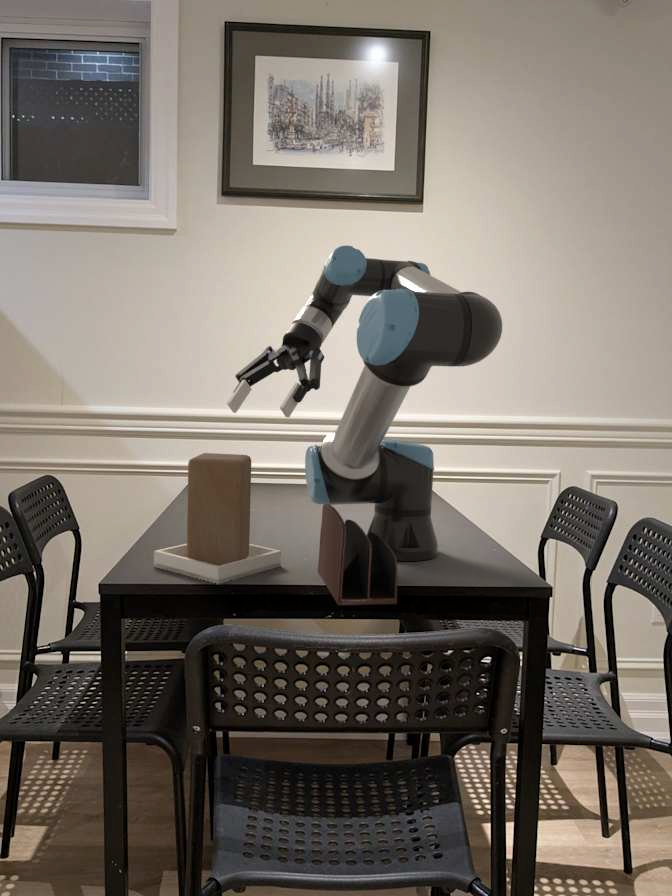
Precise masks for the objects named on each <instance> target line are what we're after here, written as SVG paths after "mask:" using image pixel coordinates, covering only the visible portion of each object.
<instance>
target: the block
mask: <svg viewBox="0 0 672 896" xmlns="http://www.w3.org/2000/svg"><path fill="white" fill-rule="evenodd" d="M187 463H188V464H187V466H188V467H187V511H186V512H187V518H186V519H187V520H186V521H187V522H186V523H187V524H186V526H187V527H186V528H187V529H186V530H187V531H186V544H187V558H190V559H194V560H198V561H201V562H205V563H209V564H213V565H217V566H220V565H223V564H227V563H231V562H235V561H239V560H242V559H246V558H247V557H248V555H249V544H250V532H251V531H250V530H251V528H250V527H251V525H250V523H251V492H252V491H251V490H252V488H251V487H252V485H251V484H252V458H251V456H250V455H247V454H236V453H235V454H233V453H214V452H212V453H211V452H210V453H209V452H202V453H200V454H199V455H197V456H194V457H192V458H190V459H189V461H188V462H187Z"/></svg>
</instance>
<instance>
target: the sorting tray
mask: <svg viewBox="0 0 672 896" xmlns="http://www.w3.org/2000/svg"><path fill="white" fill-rule="evenodd" d="M281 561H282V551H281V550H279V549H274V548H271V547H265V546H261V545H256V544H253V543H249V555H248V557H247V558H246V559H242V560H239V561H235V562H231V563H227V564H223V565H220V566H217V565H213V564H209V563H205V562H201V561H198V560H194V559H190V558H187V543H183V544H179V545H175V546H169V547H166V548H162V549H157V550H153V567H154V568H157V569H161V570H164V571H167V570H168V572H172V573H175V574H178V573H180V574H179V575H182V574H183V575H182V576H185V575H186V577H189V576H190V578H193V577H194V578H193V579H196V578H198V579H197V580H200V579H201V580H200V581H203V580H205V581H204V582H207V581H209V582H208V583H211V582H212V583H211V584H214V583H216V584H215V585H221V584H224V583H223V582H225V583H228V582H231V581H230V580H232V581H236V580H238V578H239V579H241V578H242V579H243V578H246V577H248V576H252V575H256V574H259V573H263V572H267V571H269V570H273V569H277V568H280V567H281V563H282V562H281ZM245 576H246V577H245ZM227 581H228V582H227ZM220 583H221V584H220Z"/></svg>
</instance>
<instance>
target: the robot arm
mask: <svg viewBox="0 0 672 896" xmlns="http://www.w3.org/2000/svg"><path fill="white" fill-rule="evenodd" d="M353 296H358V297H359V296H361V297H369V298H368V299H367V300H366V302H365V304H364V306H363V307H362V310H361V313H360V315H359V318H358V323H359V325H358V327H357V330H356V346H357V347H356V348H357V351H358V354H359V356H360V358H361V360H362V361H363V362H362V363H363V364H364V365H363V368H362V371H361V373H360V375H359V377H358V380H357V381H356V382H357V383H356V384H355V386H354V388H353V390H352V393H351V396H350V398H349V401H348V403H347V405H346V407H345V410H344V412H343V414H342V417H341V418H340V421H339V424H338V426H337V428H336V430H333V431H332V432H330V433H329V434H327V435H326V437H324V439H323V442H322V444H321V445H317V444H314V445H310V446H308V447H307V449H306V451H305V456H304V457H305V458H304V459H305V460H304V468H305V469H304V470H305V472H304V473H305V481H306V487H307V493H308V496H309V499H311V501H312V502H313V503H314V504H316V505H324V504H328V505H331V506H333V505H334V506H335V505H361V504H363V505H366V504H374V513H373V517H372V519H371V522H370V525H369V528H368V531H367V533H366V535H367V537H368V533H369V532H373V533H375V534H377V535H378V536H380V537H381V538H382V539H383V540H384V541H385V542H386V543H387V545H388V546H389V547H390V548H391V550H392V551H393V553H394V554H395V557H396V559H397V562H398V561H400V562H417V561H427V560H431V559H434V558H436V557H437V556H438V549H439V545H438V540H437V536H436V532H435V528H434V525H433V521H432V503H433V502H432V499H433V498H432V497H433V486H434V485H433V483H434V471H435V465H434V462H435V461H434V451H433V450H432V448H431V447H430V446H427V445H424V444H420V443H415V442H409V441H404V440H397V439H390V438H385V437H386V435H387V433H388V431H389V429H390V428H391V425H392V423H393V421H394V419H395V417H396V416H397V413H398V412H399V409H400V407H401V405H402V404H403V402H404V399H405V398H406V395H407V394H408V392H409V390H410V388H411V387H414V386H417V385H419V384H420V383H422V382H423V381H424V380H425V379H426V377H427V376H428V373H429V372H430V370H431V368H433V367H467V366H472V365H474V364H478V363H479V362H481V361H483V360H484V359H486V358H487V357H488V356H489V355H490V354H491V353H493V351H495V348H497V346H498V344H499V342H500V339H501V338H502V334H503V321H502V320H503V319H502V316H501V313H500V310H499V309H498V308H497V306H496V305H495V304H494V303H493V302H492V301H491V300H490V299H488V298H487V297H485V296H483V295H480V294H478V293H477V292H474V291H461V290H458V289H457V288H455V287H452V286H451V285H449V284H447V283H446V282H444V281H442V280H439V278H436V277H434V276H432V275H431V271H430V270H429V267H428V266H427V265H426V263H422V262H416V261H414V260H394V259H393V260H392V259H390V260H389V259H379V258H368V257H366V256H365V254H364V253H363V252H362V251H361V250H360V249H358V248H355V247H354V246H352V245H340V246H338V247H337V248H335V249H334V250H333V251H331V254H330V255H329V256H328V258H327V260H326V261H325V264H324V267H323V269H322V272H321V274H320V276H319V278H318V280H317V283H316V284H315V286H314V289H313V291H312V293H311V295H309V298H308V300H306V302H305V304H304V305H303V307H302V309H301V310H300V311H299V312H298V313H297V315H296V317H294V320H293V321H292V323H291V325H290V326H289V327H288V329H287V330H286V332H285V333H284V334H283V337H282V342H281V343H282V344H281V345H280V347H278V348H277V349H275V348H273V347H272V346H271V345H268V346H267V347H266V348H265V349H264V350H263V351H262V353H261V354H259V355H258V356H257V357H255V359H253V360H252V361H251V362H249V363H248V364H246V366H245V367H243V368H242V369H241V370H240V371H238V372H237V373H236V374H235V378H236V380H237V381H238V384H237V385H236V387H235V389H234V390H233V392H232V395H231V396H230V397H229V399H228V400H227V402H226V404H227V406H228V408H229V409H230V410H231V413H235V414H236V413H237V412H238V410H240V408H241V406H242V405H243V403H244V402H245V400H246V399H247V397H248V396H249V394H250V393H251V391H252V387H253V386H254V385H256V384H257V383H258V382H260V381H262V380H264V379H265V378H267V377H269V376H270V375H272V374H274V373H279V372H281V371H282V370H283V371H285V370H290V371H295V370H296V372H297V376H298V381H299V382H295V383H294V385H292V387H291V389H290V391H289V392H288V393H287V396H286V397H285V398H284V400H283V401H282V403H281V405H280V406H279V409H280V411H281V412H282V414H283V415H284V416H285V418H290V416H291V415H292V413H294V410H295V408H296V407H297V406H298V404H299V403H301V402H302V401H303V400H304V397H306V394H307V393H308V392H310V391H311V390H313V389H314V390H315V391H317V390H319V389H320V387H321V378H322V377H321V374H322V373H321V372H322V363H323V361H324V359H325V355H324V353H323V351H322V350H321V347H322V344H323V343H324V342H325V340H326V339H327V337H328V335H329V334H330V332H331V331H332V329H333V328H334V326H335V324H336V323H337V322H338V320H339V318H340V317H341V315H342V313H343V312H344V310H346V308H347V306H348V305H349V304H350V302H351V299H352V297H353ZM274 361H276V363H275V362H274ZM309 361H310V362H309ZM308 362H309V375H308V373H307V369H306V363H308ZM276 364H277V365H276Z"/></svg>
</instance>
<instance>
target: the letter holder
mask: <svg viewBox="0 0 672 896" xmlns="http://www.w3.org/2000/svg"><path fill="white" fill-rule="evenodd" d="M342 517H343V516H341V515H340V513H339V512H338V510H337V509H336V508H335V507H334V506H333V505H328V504H322V513H321V525H320V535H319V536H320V537H319V551H318V553H319V554H318V562H317V563H318V564H317V573H318V574H319V576H320V577H321V578H322V580H323V582H324V584H325V586H326V588H327V589H328V591H329V593H330V594H331V596H332V598H333V599H334V601H335V602H336V604H337V606H339V607H340V606H372V605H373V606H374V605H375V606H376V605H378V606H379V605H384V606H385V605H397V603H398V561H397V559H396V557H395V554H394V553H393V551H392V550H391V548H390V547H389V546H388V545H387V543H386V542H385V541H384V540H383V539H382V538H381V537H380V536H378V535H377V534H375V533H373V532H369V533H368V532H367V533H368V537H367V533H366V532H365V531H364V530H363V528H362V527H361V525H359V524H358V523H357V522H355V521H354V520H351V519H346V520H345V521H344V519H343V518H342Z"/></svg>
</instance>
